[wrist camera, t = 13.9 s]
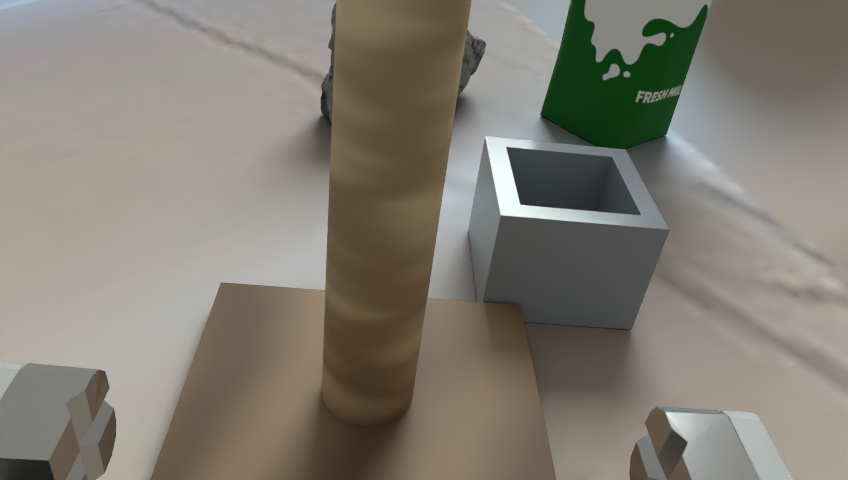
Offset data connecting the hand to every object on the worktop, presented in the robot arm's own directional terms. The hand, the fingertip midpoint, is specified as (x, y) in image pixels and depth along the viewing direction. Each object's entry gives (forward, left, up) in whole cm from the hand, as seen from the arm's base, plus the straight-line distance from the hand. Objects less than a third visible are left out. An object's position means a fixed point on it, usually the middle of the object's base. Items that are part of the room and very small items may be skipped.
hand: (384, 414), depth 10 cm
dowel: (0, +12, -13) cm, 17 cm away
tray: (0, +12, -14) cm, 18 cm away
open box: (+9, +22, -14) cm, 27 cm away
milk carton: (+17, +42, -14) cm, 47 cm away
